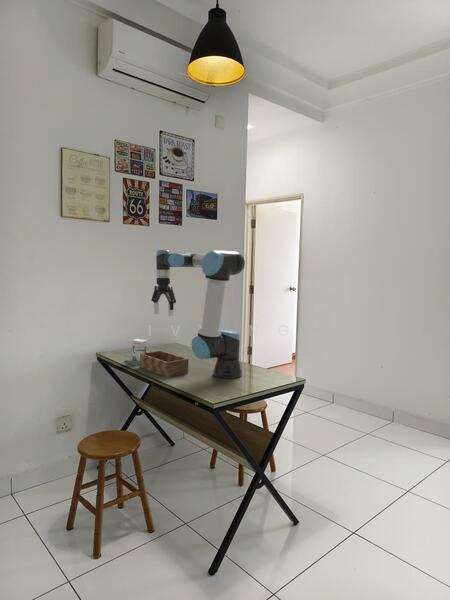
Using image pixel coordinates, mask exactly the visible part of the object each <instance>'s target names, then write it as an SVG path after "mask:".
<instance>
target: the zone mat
mask: <svg viewBox="0 0 450 600" xmlns="http://www.w3.org/2000/svg"><path fill="white" fill-rule="evenodd" d="M124 362H125V363H127V364H131V365H133V366H140V361H136V360H132V357H131V358H127V359H124Z"/></svg>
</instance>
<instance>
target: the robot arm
mask: <svg viewBox="0 0 450 600" xmlns="http://www.w3.org/2000/svg"><path fill="white" fill-rule="evenodd" d="M155 258H156V259H155V261H156V264H155V265H156V285H154V290H153V292H152V297H151V299H150V301H151V302H153V310H154V311H153V312H154V313H153V314H154V315H159V314H160V308H159V307H160V306H159V305H160V302H159V301H160V299H161V296H162V295H165V297H166V298H165V299H166V300H167V302H168V305H167V308H168V312H167V313H168V316H167V317H172V316H174V305H175V304H176V303H177V300H176V297H175V293H174V291H173V286H172V285H171V277H170V276H171V271H170V269H171V268H200V269H202V273H203V274H204V275H205V276H204V278H205V279H206V281H207V284H206V292H205V302H204V307H203V314H202V323H201V328H199V329H198V331H197V336H194V337H193V338H192V340H191V349H192V353H193V354H194V356H195V357H196V358H197V359H199V360H202V361H203V360H209V359H215V358H216V360H215V365H214V367H213V369H212V376H213V377H216V378H220V379H235V378H240V377H242V376H243V371H242V370H243V369H242V368H241V367H242V366H241V363H240V341H241V340H240V334H239V333H238V332H236V331H232V330H231V331H230V330H224V329H220V323H221V317H222V311H223V310H222V309H223V303H224V296H225V288H226V284H227V283H228V282H230V276H236V275H239V274H241V273H242V271H243V270H245V265H246V260H245V258H244V256H243V255H242V254H241V253H239V252H237V251H228V250H210V251H208V252H207V253H206V254H204V253H180V252H173V253H172V252H171V251H170V250H168V249H157V251H156V255H155ZM169 285H170V286H169Z"/></svg>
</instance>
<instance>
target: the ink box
mask: <svg viewBox="0 0 450 600" xmlns="http://www.w3.org/2000/svg"><path fill="white" fill-rule="evenodd" d="M148 352H149V340H148V339H143V338H134V339H132V340H131V356H132V357H131V358H132V360H136V361H140V354H142V353H148Z"/></svg>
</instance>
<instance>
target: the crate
mask: <svg viewBox="0 0 450 600" xmlns="http://www.w3.org/2000/svg"><path fill="white" fill-rule="evenodd" d="M139 367H140V368H141V369H145V370H147V371H149V372H152V373H155V374H157V375H159V376H162V377H165V378H170V377H175V376H180V375H184V374H185V375H186V374H189V358H186V357H184V356H180V355H177V354H173V353H171V352H167V351H164V350H156V351H148V353H142V354H140V365H139Z"/></svg>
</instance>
